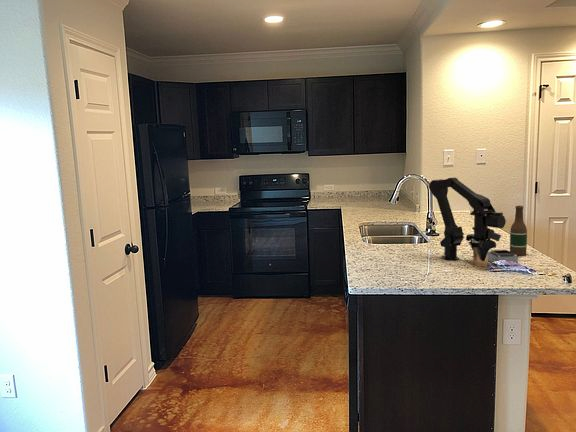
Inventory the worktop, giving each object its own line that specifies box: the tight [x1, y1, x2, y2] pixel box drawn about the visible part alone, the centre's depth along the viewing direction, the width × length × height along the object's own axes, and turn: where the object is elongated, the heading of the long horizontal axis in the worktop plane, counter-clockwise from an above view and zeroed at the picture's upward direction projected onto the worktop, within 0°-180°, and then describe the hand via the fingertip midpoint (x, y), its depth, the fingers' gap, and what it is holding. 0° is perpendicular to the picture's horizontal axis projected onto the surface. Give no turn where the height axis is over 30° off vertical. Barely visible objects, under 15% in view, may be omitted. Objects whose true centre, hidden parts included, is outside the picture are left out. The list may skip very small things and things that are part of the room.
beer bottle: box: [509, 205, 528, 257], centre depth 229 cm, size 8×8×24 cm
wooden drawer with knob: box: [472, 247, 489, 267], centre depth 214 cm, size 5×5×9 cm
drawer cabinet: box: [487, 249, 519, 264], centre depth 216 cm, size 11×9×5 cm
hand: (480, 259), depth 214 cm, fingers open, 6 cm apart
